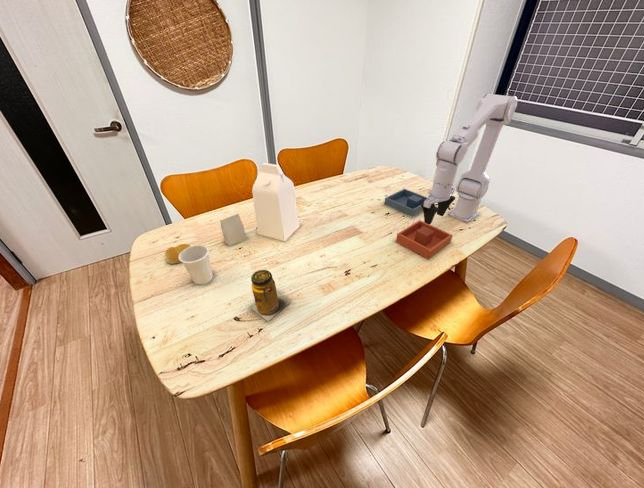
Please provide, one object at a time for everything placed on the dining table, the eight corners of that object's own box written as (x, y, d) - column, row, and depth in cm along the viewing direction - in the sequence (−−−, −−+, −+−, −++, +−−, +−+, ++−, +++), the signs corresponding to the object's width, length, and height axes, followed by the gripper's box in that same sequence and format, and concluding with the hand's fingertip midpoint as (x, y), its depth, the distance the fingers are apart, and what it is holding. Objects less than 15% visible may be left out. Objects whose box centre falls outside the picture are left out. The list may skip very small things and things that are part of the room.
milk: (299, 225, 110) (294, 161, 94) (284, 241, 102) (275, 173, 86) (274, 219, 114) (264, 156, 98) (257, 234, 106) (244, 168, 90)
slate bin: (403, 195, 129) (404, 188, 127) (430, 207, 120) (432, 199, 118) (384, 205, 122) (385, 197, 120) (411, 218, 113) (413, 210, 111)
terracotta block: (421, 236, 102) (423, 226, 99) (431, 241, 99) (434, 231, 96) (414, 241, 100) (416, 230, 97) (424, 246, 97) (427, 236, 94)
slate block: (412, 203, 121) (413, 194, 118) (420, 207, 119) (422, 198, 116) (405, 207, 119) (407, 198, 116) (414, 211, 116) (416, 201, 114)
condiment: (250, 308, 77) (242, 277, 70) (273, 291, 82) (267, 260, 75) (268, 321, 73) (260, 290, 66) (290, 303, 78) (286, 271, 71)
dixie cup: (201, 291, 83) (190, 266, 77) (183, 281, 86) (172, 256, 80) (222, 274, 88) (214, 250, 82) (205, 266, 92) (196, 241, 86)
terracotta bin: (417, 227, 107) (419, 220, 105) (450, 243, 99) (452, 235, 97) (395, 241, 100) (397, 233, 98) (428, 259, 92) (430, 251, 90)
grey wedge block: (246, 238, 104) (240, 215, 98) (229, 246, 100) (222, 222, 94) (241, 234, 106) (236, 211, 100) (225, 241, 103) (218, 218, 96)
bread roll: (197, 257, 95) (193, 248, 93) (169, 267, 92) (164, 258, 89) (191, 245, 101) (188, 236, 98) (165, 254, 97) (160, 245, 95)
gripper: (444, 171, 92) (435, 207, 101) (418, 184, 85) (411, 222, 94) (464, 178, 88) (453, 214, 97) (439, 192, 81) (429, 230, 89)
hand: (433, 219), depth 95 cm, fingers open, 7 cm apart
